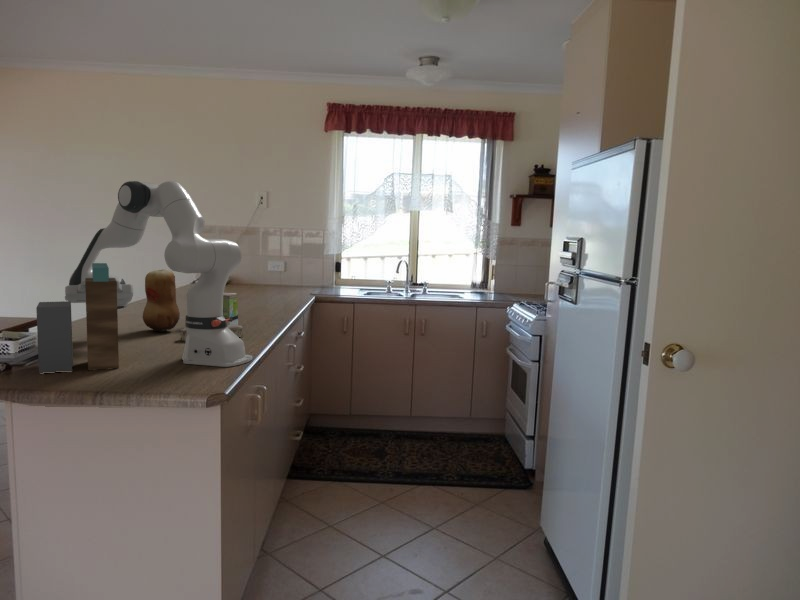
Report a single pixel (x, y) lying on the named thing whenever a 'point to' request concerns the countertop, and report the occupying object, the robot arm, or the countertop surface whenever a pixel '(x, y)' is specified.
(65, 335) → the upright gray pillar
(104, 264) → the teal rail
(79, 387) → the countertop surface
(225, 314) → the tea box
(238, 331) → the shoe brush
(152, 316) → the butternut squash
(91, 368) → the tall stand
